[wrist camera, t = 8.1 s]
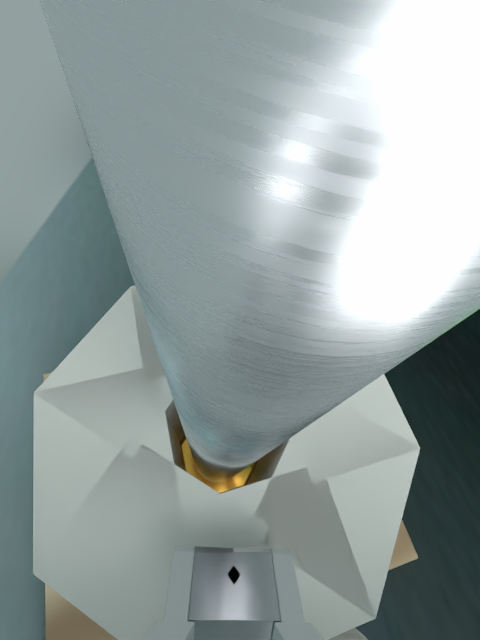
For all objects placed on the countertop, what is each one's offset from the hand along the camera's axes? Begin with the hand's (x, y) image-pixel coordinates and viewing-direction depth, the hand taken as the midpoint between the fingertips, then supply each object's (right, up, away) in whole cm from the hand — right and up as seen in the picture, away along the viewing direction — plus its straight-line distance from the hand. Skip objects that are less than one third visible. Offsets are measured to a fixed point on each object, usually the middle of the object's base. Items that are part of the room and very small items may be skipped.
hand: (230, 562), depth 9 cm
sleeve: (-1, 0, +8) cm, 9 cm away
